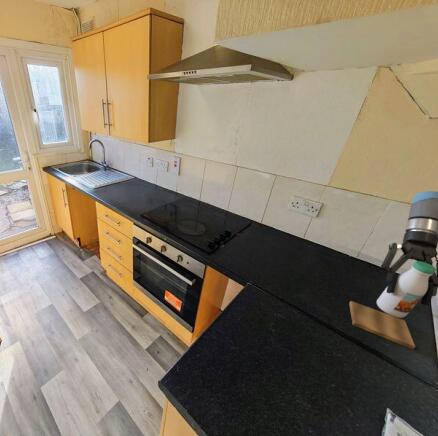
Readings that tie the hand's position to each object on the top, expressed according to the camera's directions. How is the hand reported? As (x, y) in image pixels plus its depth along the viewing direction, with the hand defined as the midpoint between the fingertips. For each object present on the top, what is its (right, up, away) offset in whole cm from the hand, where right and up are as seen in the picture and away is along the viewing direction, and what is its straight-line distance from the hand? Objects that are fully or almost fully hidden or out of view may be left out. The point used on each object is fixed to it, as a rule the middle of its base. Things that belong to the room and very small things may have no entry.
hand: (407, 298), depth 73 cm
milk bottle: (+2, -6, +7) cm, 9 cm away
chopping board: (+1, -13, +11) cm, 17 cm away
